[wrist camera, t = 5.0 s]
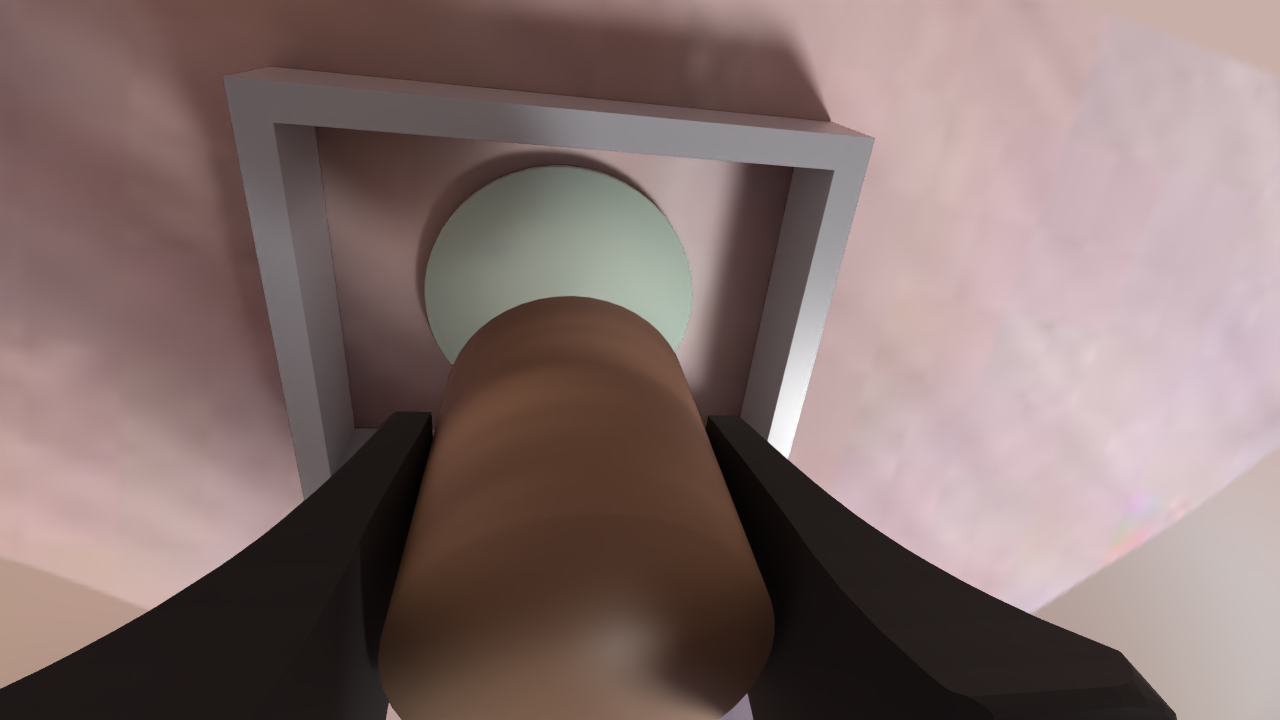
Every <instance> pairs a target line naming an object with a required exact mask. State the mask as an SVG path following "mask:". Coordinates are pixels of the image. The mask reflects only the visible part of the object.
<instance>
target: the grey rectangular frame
mask: <svg viewBox="0 0 1280 720" xmlns="http://www.w3.org/2000/svg"><path fill="white" fill-rule="evenodd" d="M222 77H223V82H224V87H225V92H226V97H227V103H228V108H229V113H230V118H231V123H232V128H233V134H234V139H235V144H236V149H237V154H238V160H239V165H240V170H241V175H242V180H243V186H244V191H245V196H246V201H247V206H248V212H249V217H250V222H251V227H252V232H253V237H254V243H255V248H256V253H257V258H258V263H259V269H260V274H261V279H262V284H263V289H264V295H265V300H266V305H267V310H268V315H269V321H270V326H271V331H272V336H273V341H274V347H275V352H276V357H277V362H278V367H279V372H280V378H281V383H282V388H283V393H284V398H285V404H286V409H287V414H288V419H289V424H290V430H291V435H292V440H293V445H294V450H295V456H296V461H297V466H298V471H299V476H300V482H301V487H302V492H303V497H304V500H306V499H307V498H308V497H309V496H310V495H311V494H312V493H314V492H315V491H316V490H317V489H318V488H319V487H320V486H321V485H322V484H323V483H325V482H326V481H327V480H328V479H329V478H330V477H331V476H332V475H333V474H334V473H335V472H336V471H337V470H338V469H339V468H340V467H341V466H342V465H343V464H344V463H345V462H346V461H347V460H348V459H349V458H350V457H351V456H352V455H353V454H354V453H355V452H356V451H357V450H358V449H359V448H360V447H361V446H362V445H363V444H364V443H365V442H366V441H367V440H368V439H369V438H370V437H371V436H372V435H373V434H374V433H375V432H376V430H377V429H376V428H355V425H354V417H353V410H352V402H351V395H350V387H349V380H348V372H347V365H346V357H345V350H344V342H343V335H342V327H341V320H340V312H339V305H338V297H337V290H336V282H335V275H334V267H333V260H332V252H331V245H330V237H329V230H328V222H327V215H326V207H325V200H324V192H323V185H322V177H321V170H320V162H319V155H318V147H317V140H316V132H315V126H320V127H332V128H344V129H356V130H367V131H379V132H391V133H403V134H415V135H426V136H438V137H450V138H462V139H473V140H485V141H497V142H509V143H521V144H532V145H544V146H556V147H568V148H580V149H591V150H603V151H615V152H627V153H639V154H650V155H662V156H674V157H686V158H697V159H709V160H721V161H733V162H745V163H756V164H768V165H780V166H792V167H794V170H793V175H792V180H791V184H790V189H789V193H788V198H787V203H786V207H785V212H784V216H783V221H782V226H781V230H780V235H779V239H778V244H777V249H776V253H775V258H774V262H773V267H772V272H771V276H770V281H769V285H768V290H767V295H766V299H765V304H764V308H763V313H762V318H761V322H760V327H759V332H758V336H757V341H756V345H755V350H754V355H753V359H752V364H751V368H750V373H749V378H748V382H747V387H746V391H745V396H744V401H743V405H742V410H741V414H740V418H742V419H743V420H744V421H745V422H746V423H748V424H749V425H750V426H751V427H752V428H753V429H754V430H756V431H757V432H758V433H759V434H760V435H761V436H762V437H763V438H764V439H766V440H767V441H768V442H769V443H770V444H771V445H772V446H773V447H774V448H775V449H777V450H778V451H779V452H780V453H781V454H782V455H783V456H784V457H786V458H787V459H788V457H789V453H790V450H791V446H792V442H793V439H794V435H795V431H796V428H797V424H798V420H799V417H800V413H801V409H802V406H803V402H804V398H805V394H806V391H807V387H808V383H809V380H810V376H811V372H812V369H813V365H814V361H815V358H816V354H817V350H818V347H819V343H820V339H821V335H822V332H823V328H824V324H825V321H826V317H827V313H828V310H829V306H830V302H831V299H832V295H833V291H834V287H835V284H836V280H837V276H838V273H839V269H840V265H841V262H842V258H843V254H844V251H845V247H846V243H847V240H848V236H849V232H850V228H851V225H852V221H853V217H854V214H855V210H856V206H857V203H858V199H859V195H860V192H861V188H862V184H863V181H864V177H865V173H866V169H867V166H868V162H869V158H870V155H871V151H872V147H873V144H874V140H875V138H873V137H870V136H868V135H865V134H863V133H860V132H857V131H855V130H852V129H850V128H847V127H844V126H842V125H839V124H836V123H834V122H827V121H817V120H807V119H797V118H787V117H777V116H767V115H756V114H746V113H736V112H726V111H716V110H706V109H696V108H685V107H675V106H665V105H655V104H645V103H635V102H625V101H614V100H604V99H594V98H584V97H574V96H564V95H554V94H544V93H533V92H523V91H513V90H503V89H493V88H483V87H473V86H462V85H452V84H442V83H432V82H422V81H412V80H402V79H391V78H381V77H371V76H361V75H351V74H341V73H331V72H320V71H310V70H300V69H290V68H280V67H266V68H261V69H256V70H251V71H246V72H241V73H236V74H231V75H226V76H222ZM432 431H433V435H434V432H435V429H432Z"/></svg>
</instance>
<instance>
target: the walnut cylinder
mask: <svg viewBox="0 0 1280 720" xmlns="http://www.w3.org/2000/svg"><path fill="white" fill-rule="evenodd" d="M774 634H775V617H774V612H773V607H772V602H771V599H770V596H769V594H768V591H767V588H766V586H765V583H764V581H763V578H762V575H761V573H760V570H759V568H758V565H757V562H756V560H755V557H754V555H753V552H752V550H751V547H750V544H749V542H748V539H747V537H746V534H745V531H744V529H743V526H742V524H741V521H740V518H739V516H738V513H737V511H736V508H735V505H734V503H733V500H732V498H731V495H730V493H729V490H728V487H727V485H726V482H725V480H724V477H723V474H722V472H721V469H720V467H719V464H718V461H717V459H716V456H715V454H714V451H713V448H712V446H711V443H710V441H709V438H708V436H707V433H706V430H705V428H704V425H703V423H702V420H701V417H700V415H699V412H698V410H697V407H696V404H695V402H694V399H693V397H692V394H691V392H690V389H689V386H688V384H687V381H686V379H685V376H684V373H683V371H682V368H681V366H680V363H679V361H678V359H677V356H676V354H675V352H674V351H673V349H672V347H671V346H670V344H669V343H668V341H667V340H666V339H665V338H664V337H663V335H662V334H661V333H660V332H659V331H658V330H657V329H656V328H655V327H654V326H652V325H651V324H650V323H649V322H648V321H646V320H645V319H643V318H642V317H640V316H639V315H637V314H636V313H634V312H632V311H630V310H628V309H626V308H624V307H622V306H619V305H617V304H614V303H611V302H608V301H604V300H600V299H595V298H590V297H579V296H557V297H549V298H543V299H537V300H534V301H530V302H527V303H523V304H521V305H518V306H516V307H513V308H511V309H509V310H506V311H505V312H503V313H501V314H500V315H498V316H496V317H494V318H493V319H491V320H490V321H489V322H487V323H486V324H485V325H484V326H482V327H481V328H480V329H479V330H478V331H477V332H476V333H475V334H474V335H473V336H472V337H471V338H470V339H469V340H468V341H467V343H466V344H465V345H464V347H463V348H462V350H461V351H460V352H459V354H458V356H457V358H456V360H455V362H454V364H453V366H452V369H451V372H450V375H449V378H448V382H447V386H446V389H445V393H444V397H443V401H442V405H441V409H440V412H439V416H438V420H437V424H436V428H435V432H434V435H433V439H432V443H431V447H430V451H429V455H428V459H427V462H426V466H425V470H424V474H423V478H422V482H421V485H420V489H419V493H418V497H417V501H416V505H415V508H414V512H413V516H412V520H411V524H410V528H409V532H408V535H407V539H406V543H405V547H404V551H403V555H402V558H401V562H400V566H399V570H398V574H397V578H396V581H395V585H394V589H393V593H392V597H391V601H390V605H389V608H388V612H387V616H386V620H385V624H384V628H383V631H382V635H381V639H380V646H379V653H378V668H379V677H380V680H381V684H382V687H383V690H384V693H385V695H386V697H387V699H388V701H389V703H390V704H391V706H392V708H393V709H394V711H395V712H396V713H397V714H398V715H399V717H400V718H401V719H402V720H719V719H721V718H722V717H723V716H724V715H725V714H727V713H728V712H729V711H730V710H731V709H733V708H734V707H735V706H736V705H737V704H738V703H739V701H740V700H741V699H742V698H743V697H744V696H745V695H746V694H747V693H748V692H749V690H750V689H751V688H752V686H753V685H754V684H755V682H756V681H757V680H758V678H759V676H760V674H761V672H762V671H763V669H764V667H765V665H766V663H767V660H768V658H769V655H770V652H771V649H772V644H773V639H774Z"/></svg>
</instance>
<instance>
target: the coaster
mask: <svg viewBox="0 0 1280 720" xmlns="http://www.w3.org/2000/svg"><path fill="white" fill-rule="evenodd" d="M557 296H579V297H590V298H595V299H600V300H604V301H608V302H611V303H614V304H617V305H619V306H622V307H624V308H626V309H628V310H630V311H632V312H634V313H636V314H637V315H639V316H640V317H642V318H643V319H645V320H646V321H648V322H649V323H650V324H651V325H652V326H654V327H655V328H656V329H657V330H658V331H659V332H660V333H661V334H662V335H663V337H664V338H665V339H666V340H667V341H668V343H669V344H670V346H671V347H672V349H673V351H674V352H675V351H676V349H677V348H678V346H679V344H680V342H681V340H682V338H683V335H684V333H685V330H686V327H687V325H688V321H689V316H690V312H691V304H692V277H691V272H690V267H689V262H688V259H687V256H686V253H685V251H684V248H683V245H682V243H681V242H680V240H679V238H678V236H677V234H676V232H675V230H674V228H673V227H672V226H671V224H670V223H669V221H668V220H667V218H666V217H665V216H664V214H663V213H662V212H661V211H660V210H659V209H658V208H657V207H656V206H655V204H654V203H653V202H652V201H651V200H649V199H648V198H647V197H646V196H644V195H643V194H642V193H641V192H639V191H638V190H637V189H635V188H633V187H632V186H630V185H629V184H627V183H625V182H624V181H622V180H619V179H617V178H615V177H613V176H610V175H608V174H606V173H602V172H599V171H595V170H592V169H588V168H582V167H576V166H569V165H548V166H540V167H531V168H527V169H523V170H520V171H516V172H512V173H510V174H507V175H505V176H503V177H500V178H498V179H495V180H494V181H492V182H490V183H488V184H487V185H485V186H483V187H482V188H480V189H478V190H477V191H476V192H475V193H473V194H472V195H471V196H470V197H468V198H467V199H466V200H465V201H464V202H463V203H462V204H461V205H460V206H459V207H458V208H457V209H456V210H455V211H454V212H453V214H452V215H451V216H450V218H449V219H448V221H447V222H446V224H445V225H444V227H443V228H442V230H441V232H440V234H439V236H438V238H437V240H436V242H435V244H434V246H433V249H432V252H431V255H430V258H429V261H428V264H427V270H426V276H425V305H426V312H427V317H428V320H429V324H430V327H431V330H432V333H433V335H434V337H435V339H436V342H437V344H438V346H439V347H440V349H441V350H442V352H443V354H444V355H445V357H446V358H447V360H448V361H449V362H450V363H451V365H452V366H453V364H454V362H455V360H456V358H457V356H458V354H459V352H460V351H461V350H462V348H463V347H464V345H465V344H466V343H467V341H468V340H469V339H470V338H471V337H472V336H473V335H474V334H475V333H476V332H477V331H478V330H479V329H480V328H481V327H482V326H484V325H485V324H486V323H487V322H489V321H490V320H491V319H493V318H494V317H496V316H498V315H500V314H501V313H503V312H505V311H506V310H509V309H511V308H513V307H516V306H518V305H521V304H523V303H527V302H530V301H534V300H537V299H543V298H549V297H557Z"/></svg>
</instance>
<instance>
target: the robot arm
mask: <svg viewBox="0 0 1280 720" xmlns="http://www.w3.org/2000/svg"><path fill="white" fill-rule="evenodd" d="M706 433H707V436H708V438H709V441H710V443H711V446H712V448H713V451H714V454H715V456H716V459H717V461H718V464H719V467H720V469H721V472H722V474H723V477H724V480H725V482H726V485H727V487H728V490H729V493H730V495H731V498H732V500H733V503H734V505H735V508H736V511H737V513H738V516H739V518H740V521H741V524H742V526H743V529H744V531H745V534H746V537H747V539H748V542H749V544H750V547H751V550H752V552H753V555H754V557H755V560H756V562H757V565H758V568H759V570H760V573H761V575H762V578H763V581H764V583H765V586H766V588H767V591H768V594H769V596H770V599H771V602H772V607H773V612H774V617H775V634H774V639H773V644H772V649H771V652H770V655H769V658H768V660H767V663H766V665H765V667H764V669H763V671H762V672H761V674H760V676H759V678H758V680H757V681H756V682H755V684H754V685H753V686H752V688H751V689H750V690H749V692H748V693H747V694H746V695H745V696H744V697H743V698H742V699H741V700H740V701H739V703H738V704H737V705H736V706H735V707H734V708H733V709H731V710H730V711H729V712H728V713H727V714H725V715H724V716H723V717H722V718H721V719H719V720H1177V717H1176V714H1175V712H1174V711H1173V710H1172V709H1171V708H1170V707H1169V706H1168V705H1167V703H1166V702H1165V701H1164V700H1163V699H1162V698H1161V697H1160V696H1159V695H1158V693H1157V692H1156V691H1155V690H1154V689H1153V688H1152V687H1151V685H1150V684H1149V683H1148V682H1147V681H1146V680H1145V679H1144V678H1143V677H1142V675H1141V674H1140V673H1139V672H1138V671H1137V670H1136V669H1135V668H1134V666H1133V665H1132V664H1131V663H1130V662H1129V661H1128V660H1127V659H1126V658H1125V657H1124V655H1123V654H1122V653H1121V652H1120V651H1118V650H1115V649H1113V648H1110V647H1108V646H1105V645H1103V644H1100V643H1098V642H1096V641H1093V640H1091V639H1088V638H1086V637H1083V636H1081V635H1078V634H1076V633H1074V632H1071V631H1068V630H1066V629H1064V628H1061V627H1059V626H1056V625H1054V624H1051V623H1049V622H1047V621H1044V620H1041V619H1040V618H1037V617H1035V616H1033V615H1031V614H1029V613H1026V612H1024V611H1022V610H1020V609H1018V608H1016V607H1014V606H1012V605H1009V604H1007V603H1005V602H1003V601H1001V600H999V599H997V598H995V597H993V596H990V595H989V594H987V593H985V592H983V591H981V590H979V589H977V588H975V587H973V586H971V585H969V584H967V583H965V582H963V581H961V580H959V579H958V578H956V577H954V576H952V575H951V574H949V573H947V572H945V571H943V570H942V569H940V568H938V567H936V566H935V565H933V564H931V563H929V562H927V561H926V560H924V559H922V558H921V557H919V556H917V555H916V554H914V553H912V552H911V551H909V550H907V549H906V548H904V547H903V546H901V545H899V544H898V543H896V542H895V541H893V540H892V539H890V538H889V537H887V536H886V535H884V534H883V533H881V532H880V531H878V530H877V529H875V528H874V527H872V526H871V525H869V524H868V523H867V522H865V521H864V520H862V519H861V518H859V517H858V516H857V515H855V514H854V513H853V512H851V511H850V510H849V509H847V508H846V507H845V506H844V505H842V504H841V503H840V502H838V501H837V500H836V499H834V498H833V497H832V496H831V495H829V494H828V493H827V492H826V491H824V490H823V489H822V488H821V487H819V486H818V485H817V484H816V483H814V482H813V481H812V480H811V479H810V478H809V477H807V476H806V475H805V474H804V473H803V472H802V471H800V470H799V469H798V468H797V467H796V466H795V465H793V464H792V463H791V462H790V461H789V460H788V459H787V458H786V457H784V456H783V455H782V454H781V453H780V452H779V451H778V450H777V449H775V448H774V447H773V446H772V445H771V444H770V443H769V442H768V441H767V440H766V439H764V438H763V437H762V436H761V435H760V434H759V433H758V432H757V431H756V430H754V429H753V428H752V427H751V426H750V425H749V424H748V423H746V422H745V421H744V420H743V419H742V418H740V417H739V416H708V419H707V424H706ZM432 439H433V431H432V415H431V412H395V413H393V414H392V415H391V416H390V417H389V418H388V419H387V420H386V421H385V422H384V423H383V424H382V425H381V426H380V427H379V428H378V429H377V430H376V432H375V433H374V434H373V435H372V436H371V437H370V438H369V439H368V440H367V441H366V442H365V443H364V444H363V445H362V446H361V447H360V448H359V449H358V450H357V451H356V452H355V453H354V454H353V455H352V456H351V457H350V458H349V459H348V460H347V461H346V462H345V463H344V464H343V465H342V466H341V467H340V468H339V469H338V470H337V471H336V472H335V473H334V474H333V475H332V476H331V477H330V478H329V479H328V480H327V481H326V482H325V483H323V484H322V485H321V486H320V487H319V488H318V489H317V490H316V491H315V492H314V493H312V494H311V495H310V496H309V497H308V498H307V499H306V500H304V501H303V502H302V503H301V504H300V505H299V506H297V507H296V508H295V509H294V510H293V511H292V512H291V513H289V514H288V515H287V516H286V517H285V518H284V519H282V520H281V521H280V522H279V523H278V524H276V525H275V526H274V527H273V528H271V529H270V530H269V531H268V532H266V533H265V534H264V535H263V536H261V537H260V538H259V539H257V540H256V541H255V542H253V543H252V544H250V545H249V546H248V547H246V548H245V549H244V550H242V551H241V552H239V553H238V554H237V555H235V556H234V557H233V558H231V559H230V560H228V561H227V562H225V563H224V564H222V565H221V566H220V567H218V568H216V569H215V570H213V571H212V572H210V573H209V574H207V575H205V576H204V577H202V578H201V579H199V580H198V581H196V582H195V583H193V584H191V585H190V586H188V587H187V588H185V589H184V590H182V591H180V592H179V593H177V594H176V595H174V596H173V597H171V598H169V599H168V600H166V601H165V602H163V603H162V604H160V605H158V606H157V607H155V608H153V609H152V610H150V611H148V612H147V613H145V614H143V615H141V616H140V617H138V618H136V619H134V620H133V621H131V622H129V623H127V624H125V625H124V626H122V627H120V628H118V629H117V630H115V631H113V632H111V633H110V634H108V635H106V636H104V637H102V638H100V639H98V640H97V641H95V642H93V643H91V644H89V645H87V646H86V647H84V648H82V649H80V650H78V651H76V652H74V653H72V654H71V655H69V656H67V657H65V658H63V659H61V660H59V661H57V662H55V663H53V664H51V665H49V666H47V667H45V668H43V669H41V670H39V671H37V672H35V673H33V674H31V675H28V676H26V677H24V678H22V679H20V680H18V681H16V682H14V683H12V684H10V685H8V686H6V687H3V688H1V689H0V720H386V714H387V709H388V704H389V701H388V699H387V697H386V695H385V693H384V690H383V687H382V684H381V680H380V677H379V668H378V653H379V646H380V639H381V635H382V631H383V628H384V624H385V620H386V616H387V612H388V608H389V605H390V601H391V597H392V593H393V589H394V585H395V581H396V578H397V574H398V570H399V566H400V562H401V558H402V555H403V551H404V547H405V543H406V539H407V535H408V532H409V528H410V524H411V520H412V516H413V512H414V508H415V505H416V501H417V497H418V493H419V489H420V485H421V482H422V478H423V474H424V470H425V466H426V462H427V459H428V455H429V451H430V447H431V443H432Z"/></svg>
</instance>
